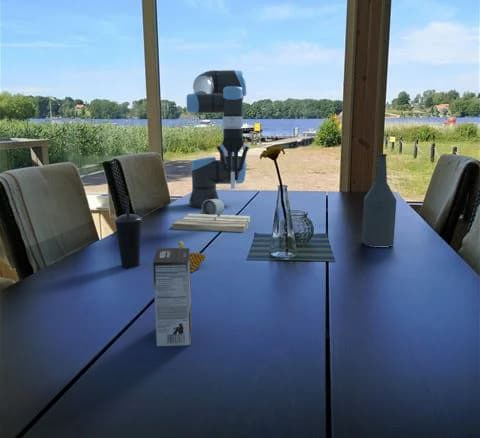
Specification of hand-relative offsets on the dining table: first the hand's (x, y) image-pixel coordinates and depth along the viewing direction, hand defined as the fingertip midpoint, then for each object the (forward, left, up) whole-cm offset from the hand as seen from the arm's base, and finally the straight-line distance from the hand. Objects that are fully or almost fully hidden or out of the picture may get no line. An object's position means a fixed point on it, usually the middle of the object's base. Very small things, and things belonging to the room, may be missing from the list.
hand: (233, 188), depth 180 cm
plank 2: (0, 0, -14) cm, 14 cm away
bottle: (+23, +54, -15) cm, 60 cm away
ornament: (+57, -2, -15) cm, 58 cm away
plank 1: (0, -14, -14) cm, 20 cm away
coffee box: (+99, +10, -15) cm, 101 cm away
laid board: (+10, -7, -14) cm, 19 cm away
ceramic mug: (-14, -13, -15) cm, 24 cm away
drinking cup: (+60, -17, -15) cm, 64 cm away
